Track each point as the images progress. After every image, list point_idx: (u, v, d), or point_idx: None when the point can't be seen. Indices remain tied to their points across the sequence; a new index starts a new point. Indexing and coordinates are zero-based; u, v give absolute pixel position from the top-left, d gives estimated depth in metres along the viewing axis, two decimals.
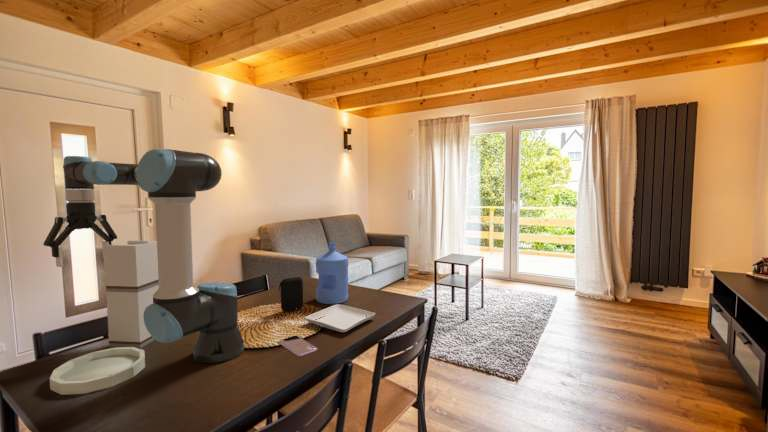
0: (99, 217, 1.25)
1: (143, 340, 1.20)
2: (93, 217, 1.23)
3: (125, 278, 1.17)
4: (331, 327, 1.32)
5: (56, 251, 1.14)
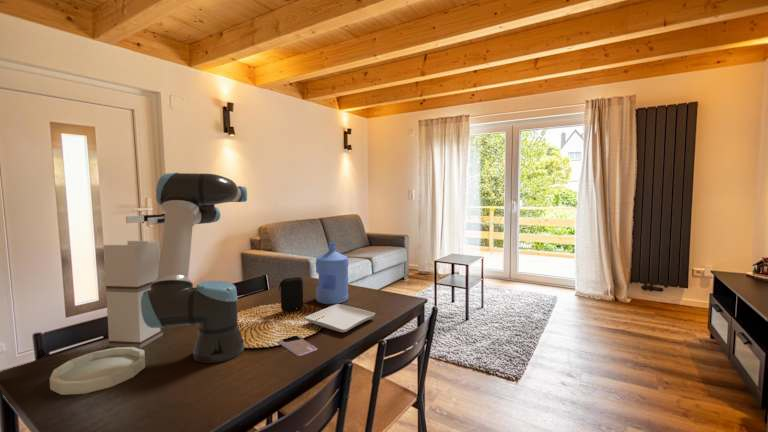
0: None
1: (143, 340, 1.20)
2: None
3: (125, 278, 1.17)
4: (331, 327, 1.32)
5: None
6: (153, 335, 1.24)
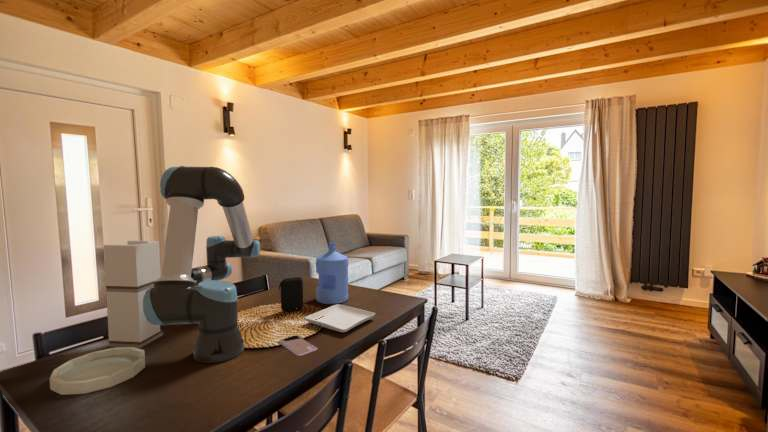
0: None
1: (143, 340, 1.20)
2: None
3: (125, 278, 1.17)
4: (331, 327, 1.32)
5: None
6: (153, 335, 1.24)
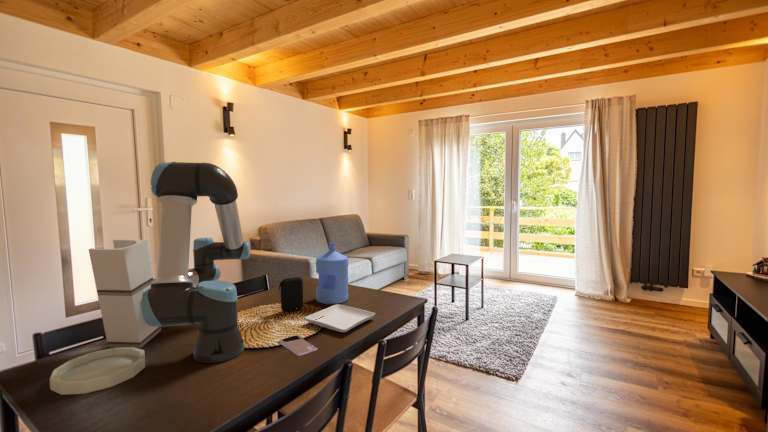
0: None
1: (143, 340, 1.20)
2: None
3: (116, 282, 1.13)
4: (331, 327, 1.32)
5: None
6: (152, 333, 1.24)
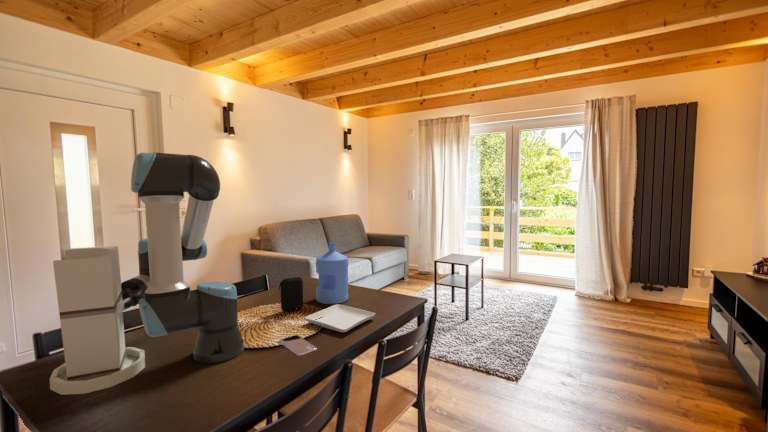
0: None
1: (120, 364, 1.01)
2: (134, 290, 1.13)
3: (93, 298, 0.93)
4: (331, 327, 1.32)
5: None
6: (123, 356, 1.05)
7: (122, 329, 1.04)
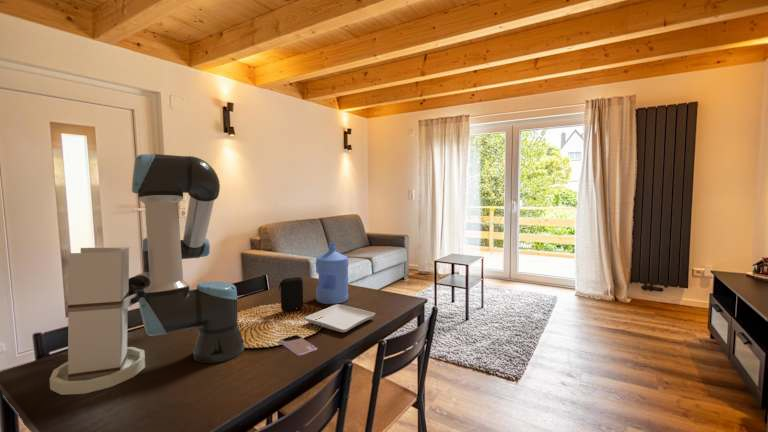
0: (146, 288, 1.17)
1: (121, 365, 1.01)
2: (140, 286, 1.17)
3: (102, 292, 0.97)
4: (331, 327, 1.32)
5: None
6: (124, 358, 1.05)
7: (126, 330, 1.06)
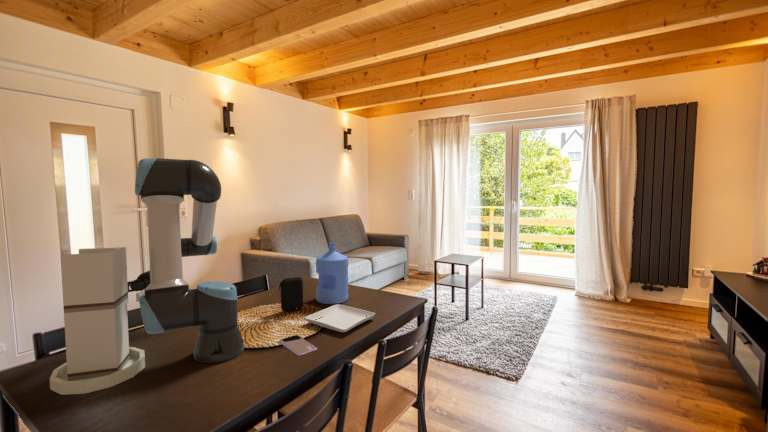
0: None
1: (119, 365, 1.01)
2: None
3: (95, 293, 0.97)
4: (331, 327, 1.32)
5: None
6: (125, 358, 1.05)
7: (125, 330, 1.06)
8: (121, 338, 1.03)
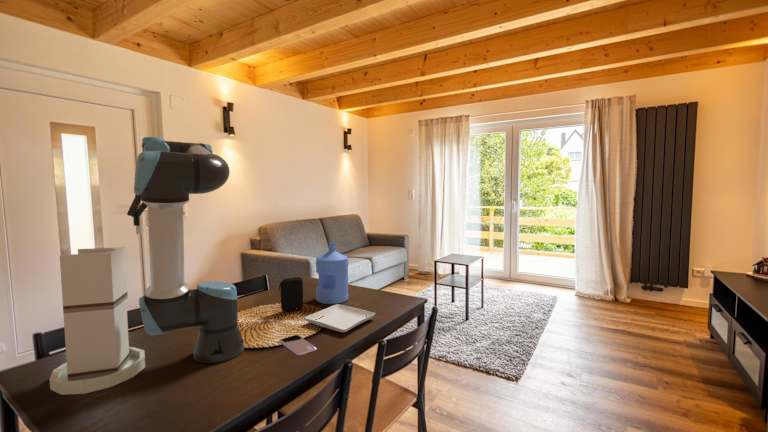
0: None
1: (119, 365, 1.01)
2: None
3: (94, 293, 0.97)
4: (331, 327, 1.32)
5: (137, 220, 1.30)
6: (125, 358, 1.05)
7: (125, 330, 1.06)
8: (121, 338, 1.03)
